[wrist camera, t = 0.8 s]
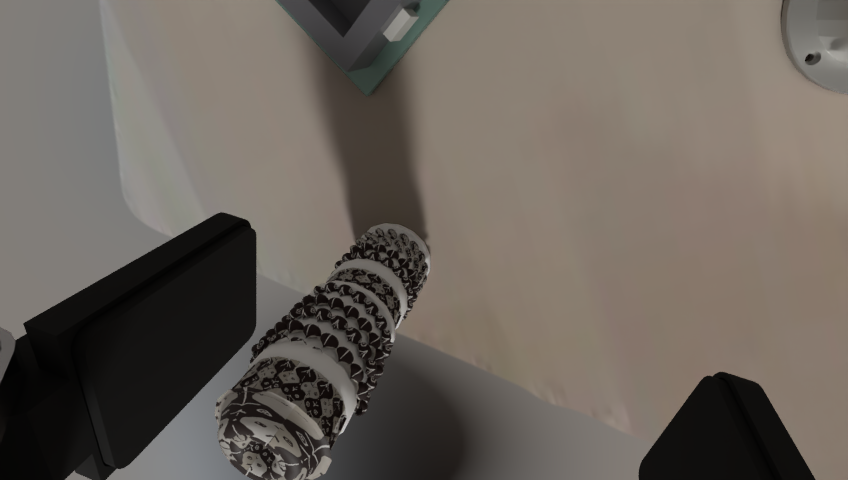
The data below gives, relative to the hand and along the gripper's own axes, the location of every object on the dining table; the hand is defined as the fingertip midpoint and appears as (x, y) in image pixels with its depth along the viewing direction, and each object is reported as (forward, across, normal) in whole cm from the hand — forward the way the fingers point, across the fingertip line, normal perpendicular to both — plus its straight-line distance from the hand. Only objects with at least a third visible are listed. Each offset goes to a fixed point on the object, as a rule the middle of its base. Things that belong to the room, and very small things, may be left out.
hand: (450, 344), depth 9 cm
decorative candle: (+32, +9, +19) cm, 38 cm away
